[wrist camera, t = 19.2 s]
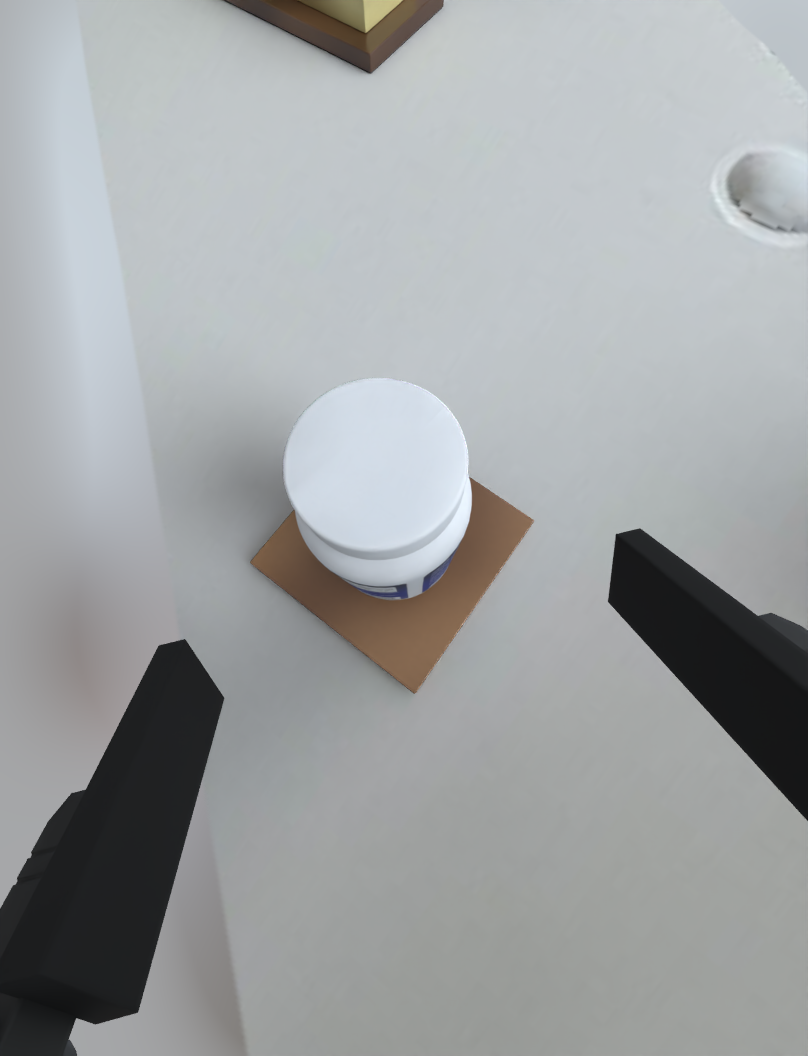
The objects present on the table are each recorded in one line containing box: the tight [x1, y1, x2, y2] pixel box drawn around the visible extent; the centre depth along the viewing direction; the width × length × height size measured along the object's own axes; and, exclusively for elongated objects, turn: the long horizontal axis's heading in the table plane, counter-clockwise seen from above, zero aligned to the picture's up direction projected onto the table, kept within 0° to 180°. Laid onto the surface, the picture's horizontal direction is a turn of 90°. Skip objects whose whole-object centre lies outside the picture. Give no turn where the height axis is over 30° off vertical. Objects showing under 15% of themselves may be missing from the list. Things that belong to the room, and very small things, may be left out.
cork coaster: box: [250, 477, 534, 694], centre depth 20 cm, size 10×10×1 cm
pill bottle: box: [283, 378, 472, 600], centre depth 15 cm, size 6×6×10 cm
